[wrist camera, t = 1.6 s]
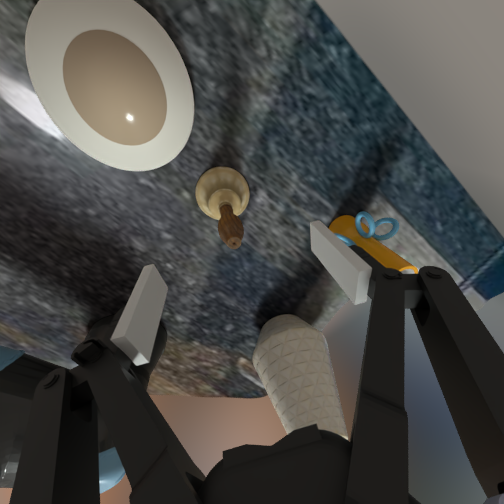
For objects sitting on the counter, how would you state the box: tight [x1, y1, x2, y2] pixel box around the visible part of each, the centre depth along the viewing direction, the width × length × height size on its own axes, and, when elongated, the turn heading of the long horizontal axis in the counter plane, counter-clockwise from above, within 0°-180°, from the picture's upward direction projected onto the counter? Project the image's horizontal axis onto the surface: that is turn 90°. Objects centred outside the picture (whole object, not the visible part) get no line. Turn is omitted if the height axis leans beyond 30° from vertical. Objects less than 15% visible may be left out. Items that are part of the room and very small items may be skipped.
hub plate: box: [25, 0, 195, 171], centre depth 23 cm, size 16×16×2 cm
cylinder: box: [328, 211, 418, 274], centre depth 33 cm, size 12×10×15 cm
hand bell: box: [195, 167, 249, 249], centre depth 25 cm, size 8×8×16 cm
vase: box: [253, 314, 348, 440], centre depth 43 cm, size 18×17×23 cm
